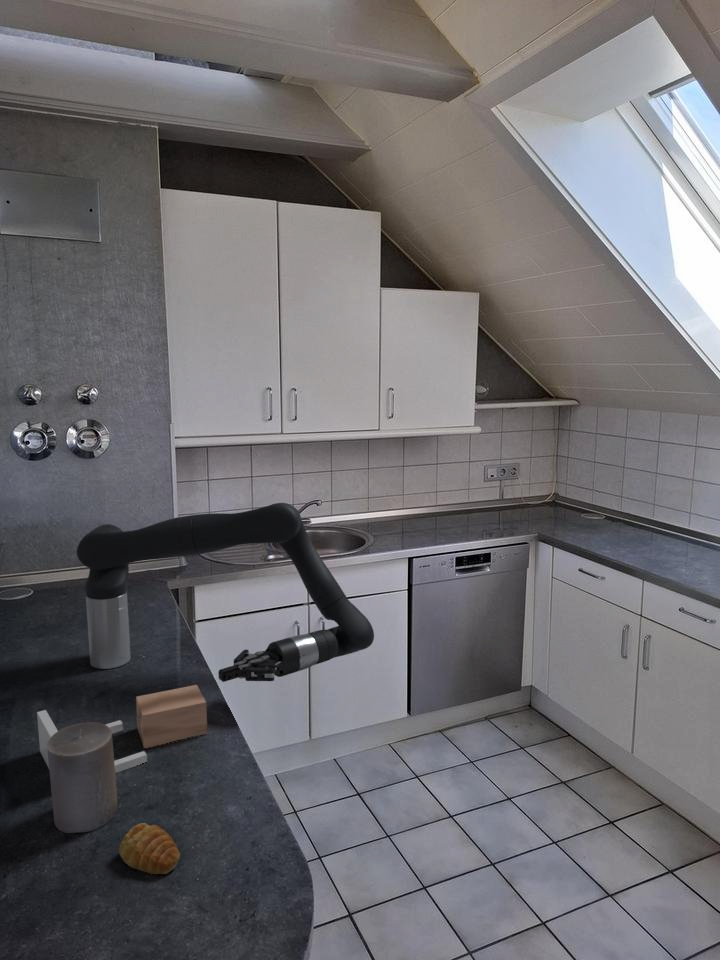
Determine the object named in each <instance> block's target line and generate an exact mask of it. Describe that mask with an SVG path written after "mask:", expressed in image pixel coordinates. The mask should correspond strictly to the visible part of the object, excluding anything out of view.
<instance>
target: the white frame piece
mask: <svg viewBox="0 0 720 960" xmlns="http://www.w3.org/2000/svg"><path fill="white" fill-rule="evenodd" d="M36 716H37V717H36V718H37V729H38V740H39V742H38V743H39V752H40V754H41V756H42V758H43V760H44V763H45V764H46V766H47V768H48V769H49V761H48V750H47V743H48V741H49V739H50V738H51V737H52V736H53V735H54V734H55V733H56V732H58V731H59V730H58V729H57V727H56V726H55V723H54V722H53V720H52V718H51V717H50V715H49V713H48V711H47V710H46V709H44V710H40V711H36ZM123 724H124V723H123V721H122V720H120V719H119V720H116V721H112V722H109V723H106V724H104V725H107V726H108V727H109V728H110V729H111V732H112V735H113V734H115V733H118V732H121V731H124V725H123ZM145 762H147V763H148V755H147V752H146V751H145V750H142V751H140V752H136V753H134V754H131V755H128V756H125V757H123V758H120V759H119V758H118V759H115V760H114V765H115V774H117V773H121V772H123V771H126V770H129V769H132V768H134V767H137V765H138V766H140V764H141V765H143V764H142V763H144V764H146V763H145Z"/></svg>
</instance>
